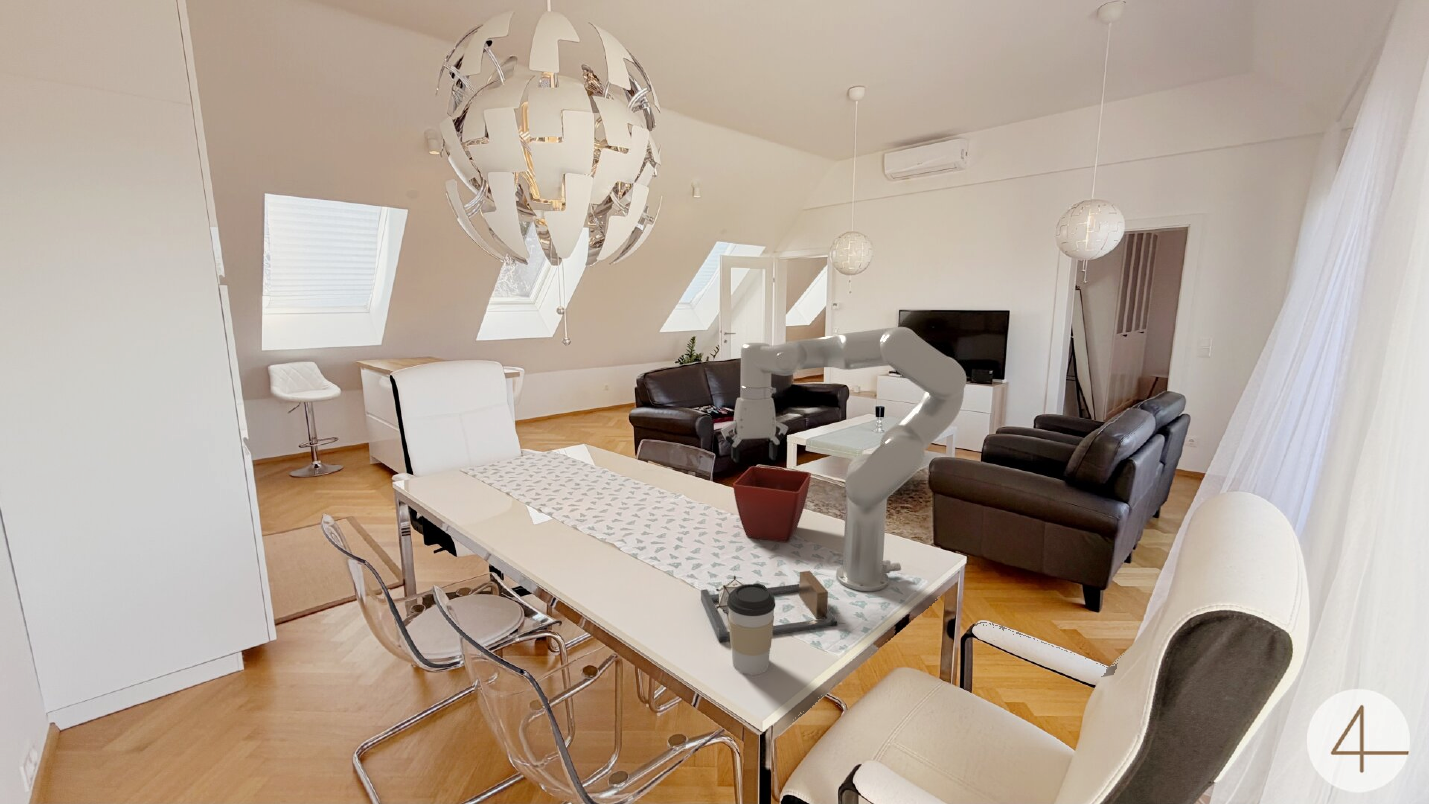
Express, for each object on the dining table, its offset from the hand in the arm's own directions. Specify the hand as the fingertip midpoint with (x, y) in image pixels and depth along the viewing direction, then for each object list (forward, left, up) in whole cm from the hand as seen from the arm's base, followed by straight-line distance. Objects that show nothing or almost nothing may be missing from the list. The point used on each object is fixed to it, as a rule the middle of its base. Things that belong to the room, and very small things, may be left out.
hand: (754, 460), depth 146 cm
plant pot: (-12, -19, -29) cm, 37 cm away
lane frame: (+4, +23, -28) cm, 37 cm away
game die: (+11, +22, -29) cm, 38 cm away
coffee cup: (+13, +39, -29) cm, 50 cm away
